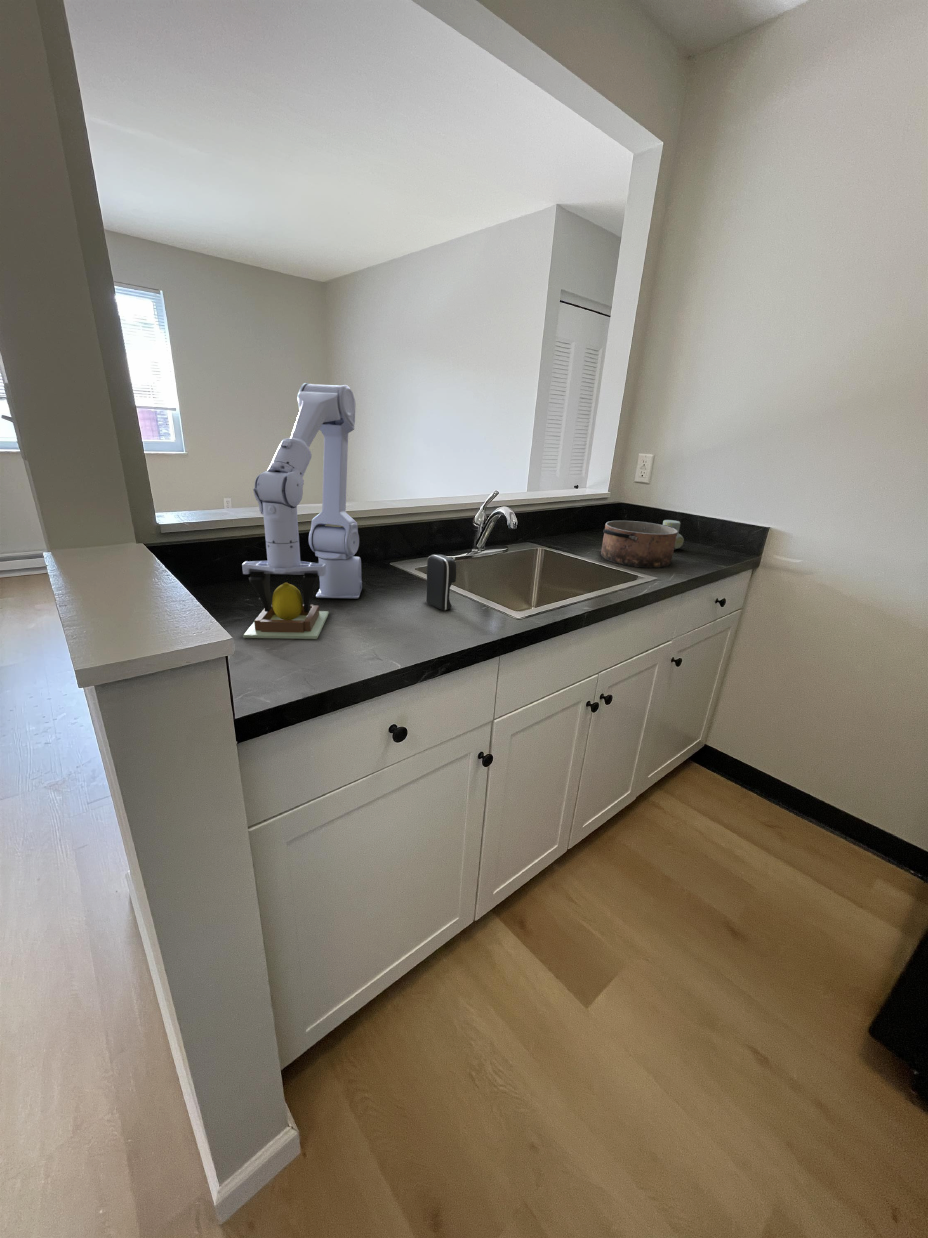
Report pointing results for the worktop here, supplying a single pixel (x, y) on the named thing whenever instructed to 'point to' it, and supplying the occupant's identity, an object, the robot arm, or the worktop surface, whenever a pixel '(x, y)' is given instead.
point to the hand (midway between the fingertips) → (288, 610)
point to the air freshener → (679, 538)
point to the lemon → (287, 602)
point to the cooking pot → (638, 543)
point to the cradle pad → (288, 625)
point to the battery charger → (440, 580)
